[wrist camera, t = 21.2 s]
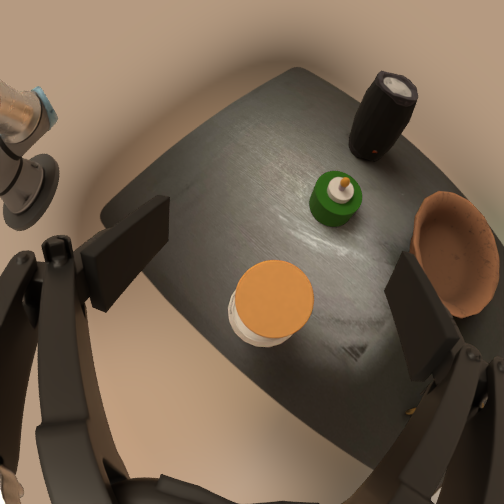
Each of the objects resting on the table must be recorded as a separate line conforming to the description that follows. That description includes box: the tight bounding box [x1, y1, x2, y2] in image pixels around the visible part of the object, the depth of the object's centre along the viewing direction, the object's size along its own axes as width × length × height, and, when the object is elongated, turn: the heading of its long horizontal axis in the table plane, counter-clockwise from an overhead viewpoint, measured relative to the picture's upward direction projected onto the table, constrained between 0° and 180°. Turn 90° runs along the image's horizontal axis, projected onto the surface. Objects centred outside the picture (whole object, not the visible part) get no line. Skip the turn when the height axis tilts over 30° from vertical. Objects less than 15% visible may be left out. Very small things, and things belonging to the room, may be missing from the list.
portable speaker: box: [349, 71, 418, 162], centre depth 43 cm, size 9×9×20 cm
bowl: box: [409, 191, 499, 318], centre depth 40 cm, size 22×22×11 cm
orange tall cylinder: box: [235, 260, 314, 338], centre depth 23 cm, size 5×5×13 cm
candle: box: [309, 171, 362, 227], centre depth 44 cm, size 8×8×10 cm
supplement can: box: [228, 290, 292, 347], centre depth 36 cm, size 8×8×15 cm
